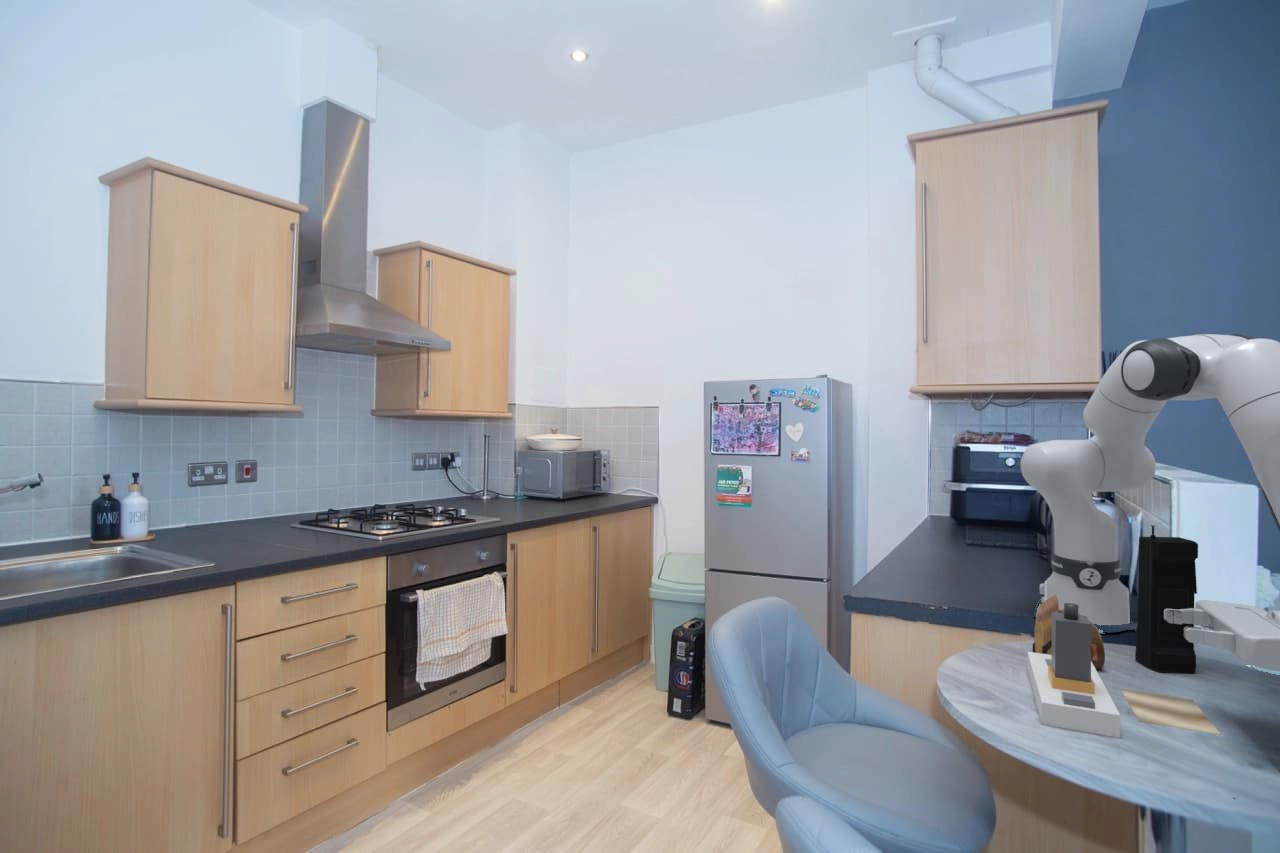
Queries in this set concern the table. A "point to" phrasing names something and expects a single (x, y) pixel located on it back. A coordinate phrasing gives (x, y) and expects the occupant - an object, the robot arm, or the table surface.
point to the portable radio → (1165, 602)
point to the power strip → (1069, 712)
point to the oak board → (1168, 711)
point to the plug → (1071, 651)
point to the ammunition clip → (1045, 626)
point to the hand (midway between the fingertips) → (1174, 624)
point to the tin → (1096, 647)
